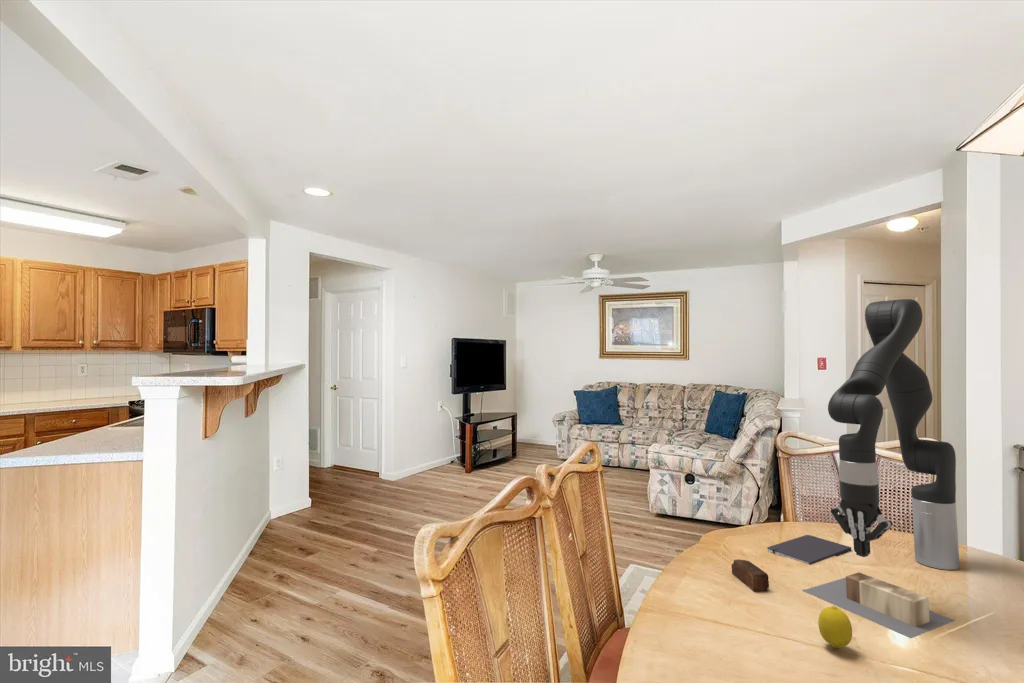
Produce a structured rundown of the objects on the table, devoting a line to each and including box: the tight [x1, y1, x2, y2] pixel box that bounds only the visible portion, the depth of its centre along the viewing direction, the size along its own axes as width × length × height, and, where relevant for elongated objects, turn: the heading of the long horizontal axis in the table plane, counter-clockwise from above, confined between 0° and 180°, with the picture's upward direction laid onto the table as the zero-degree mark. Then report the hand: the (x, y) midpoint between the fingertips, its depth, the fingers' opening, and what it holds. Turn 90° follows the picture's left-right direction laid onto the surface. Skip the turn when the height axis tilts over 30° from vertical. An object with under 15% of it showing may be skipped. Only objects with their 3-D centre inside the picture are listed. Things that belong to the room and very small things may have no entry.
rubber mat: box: [802, 577, 956, 639], centre depth 112 cm, size 16×23×1 cm
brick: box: [731, 559, 770, 593], centre depth 124 cm, size 11×4×5 cm, turn 4°
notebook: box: [766, 534, 852, 565], centre depth 145 cm, size 13×2×21 cm
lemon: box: [817, 605, 853, 650], centre depth 96 cm, size 6×6×8 cm
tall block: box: [845, 572, 930, 627], centre depth 110 cm, size 5×5×14 cm
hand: (862, 555), depth 114 cm, fingers closed
